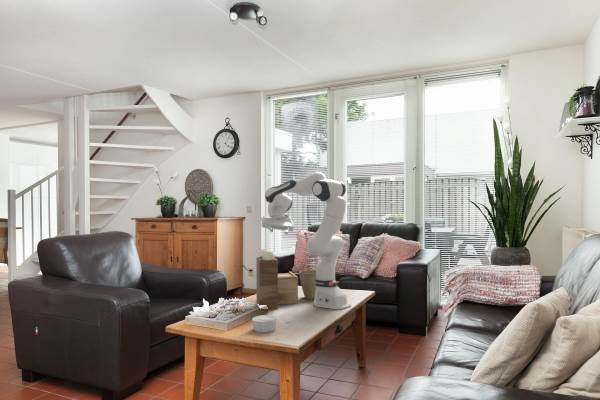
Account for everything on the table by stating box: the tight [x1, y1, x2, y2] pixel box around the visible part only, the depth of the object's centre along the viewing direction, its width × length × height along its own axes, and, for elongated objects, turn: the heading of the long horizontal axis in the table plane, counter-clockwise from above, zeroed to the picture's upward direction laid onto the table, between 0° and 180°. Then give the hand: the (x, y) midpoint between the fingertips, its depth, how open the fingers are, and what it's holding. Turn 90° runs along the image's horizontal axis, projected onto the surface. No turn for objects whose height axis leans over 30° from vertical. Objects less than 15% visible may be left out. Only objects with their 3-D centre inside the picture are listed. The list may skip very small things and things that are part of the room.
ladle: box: [259, 248, 275, 260], centre depth 240 cm, size 25×6×4 cm, turn 13°
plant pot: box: [298, 269, 316, 300], centre depth 260 cm, size 15×15×16 cm
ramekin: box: [251, 314, 277, 333], centre depth 192 cm, size 11×11×5 cm
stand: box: [256, 256, 299, 311], centre depth 247 cm, size 33×24×28 cm
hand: (279, 232), depth 254 cm, fingers open, 8 cm apart
